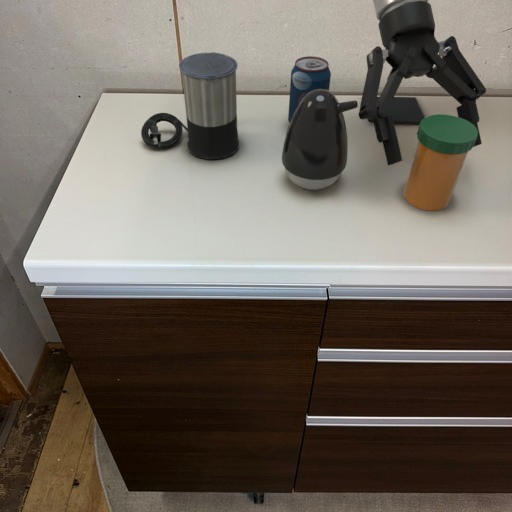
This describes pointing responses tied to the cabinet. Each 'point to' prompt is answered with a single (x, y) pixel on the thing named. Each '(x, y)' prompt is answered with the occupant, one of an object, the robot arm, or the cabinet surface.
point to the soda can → (307, 79)
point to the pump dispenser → (317, 140)
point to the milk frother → (203, 108)
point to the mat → (405, 110)
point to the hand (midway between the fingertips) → (435, 155)
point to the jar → (432, 178)
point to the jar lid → (447, 134)
